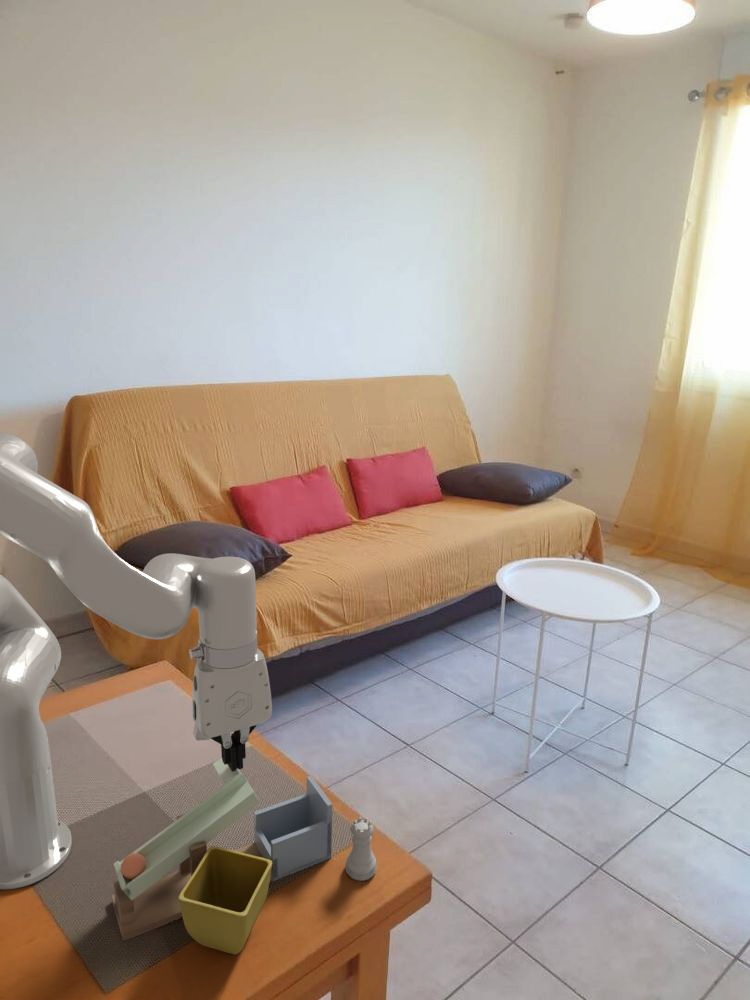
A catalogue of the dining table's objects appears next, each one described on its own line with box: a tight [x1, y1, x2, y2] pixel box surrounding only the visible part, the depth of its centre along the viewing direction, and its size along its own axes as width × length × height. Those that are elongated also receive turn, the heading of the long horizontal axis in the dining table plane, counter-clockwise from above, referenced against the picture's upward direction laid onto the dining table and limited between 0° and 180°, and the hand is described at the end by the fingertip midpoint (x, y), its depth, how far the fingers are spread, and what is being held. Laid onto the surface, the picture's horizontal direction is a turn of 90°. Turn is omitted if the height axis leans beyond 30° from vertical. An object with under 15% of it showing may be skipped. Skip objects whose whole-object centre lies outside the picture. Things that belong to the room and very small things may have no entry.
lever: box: [113, 757, 261, 901], centre depth 97 cm, size 11×19×3 cm, turn 120°
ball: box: [121, 852, 146, 880], centre depth 91 cm, size 3×3×3 cm
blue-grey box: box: [253, 775, 333, 882], centre depth 103 cm, size 7×9×9 cm
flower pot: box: [178, 845, 272, 955], centre depth 89 cm, size 9×9×9 cm
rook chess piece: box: [345, 817, 378, 882], centre depth 100 cm, size 4×4×8 cm
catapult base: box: [111, 813, 274, 942], centre depth 96 cm, size 7×20×10 cm, turn 120°
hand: (234, 764), depth 101 cm, fingers closed
